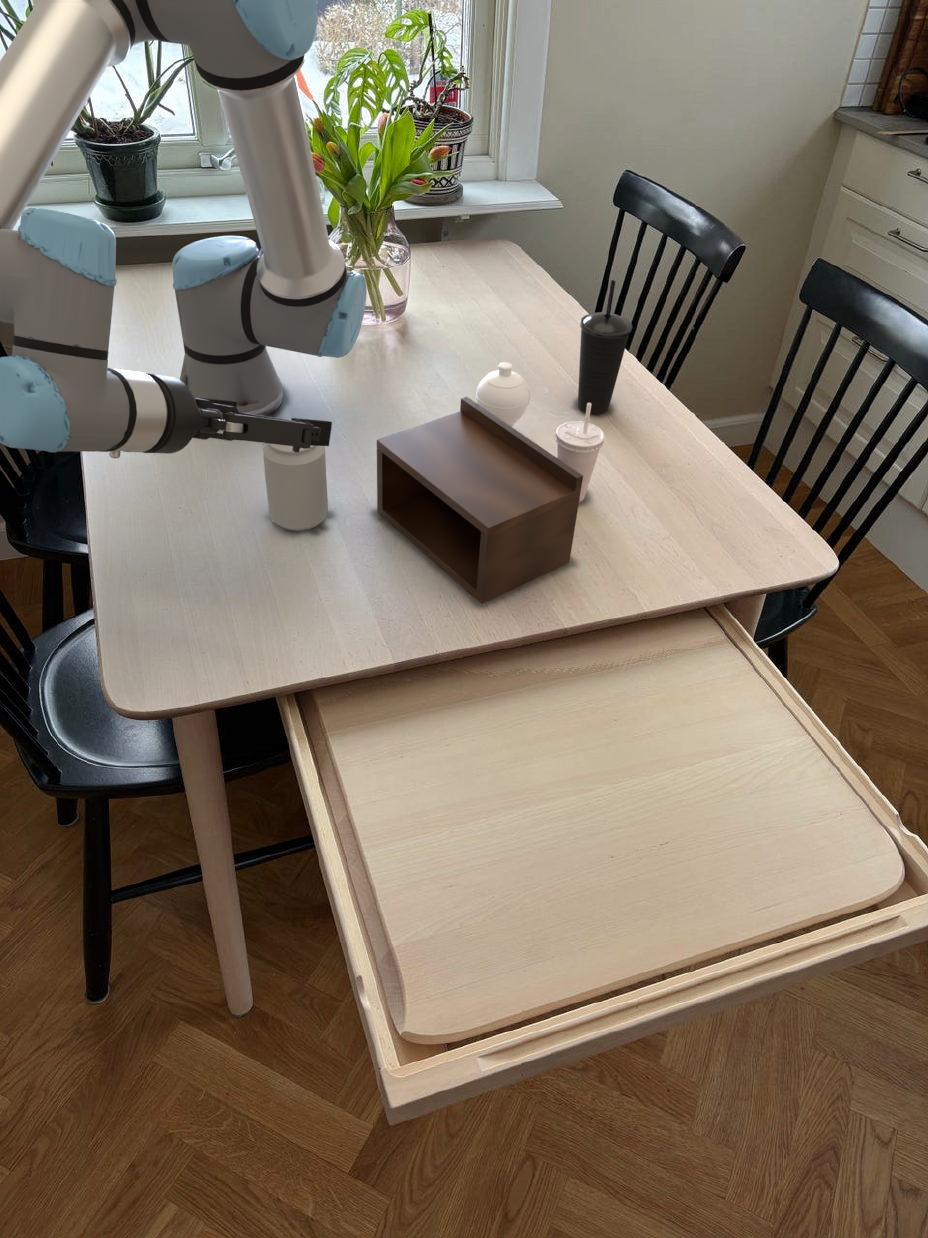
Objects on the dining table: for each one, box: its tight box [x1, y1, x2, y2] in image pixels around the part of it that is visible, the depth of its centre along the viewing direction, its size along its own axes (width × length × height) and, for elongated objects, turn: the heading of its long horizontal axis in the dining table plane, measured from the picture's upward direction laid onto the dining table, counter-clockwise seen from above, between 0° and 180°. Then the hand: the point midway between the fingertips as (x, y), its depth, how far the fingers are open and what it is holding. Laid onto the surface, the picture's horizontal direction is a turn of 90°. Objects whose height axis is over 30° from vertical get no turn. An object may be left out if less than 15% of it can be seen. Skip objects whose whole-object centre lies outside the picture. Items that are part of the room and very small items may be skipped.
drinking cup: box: [577, 279, 633, 416], centre depth 143 cm, size 8×8×20 cm
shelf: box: [376, 396, 583, 604], centre depth 118 cm, size 14×22×13 cm, turn 38°
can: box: [262, 443, 329, 532], centre depth 120 cm, size 8×8×12 cm
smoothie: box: [554, 403, 605, 503], centre depth 126 cm, size 6×6×14 cm
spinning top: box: [475, 361, 531, 428], centre depth 137 cm, size 8×8×12 cm
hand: (279, 422), depth 110 cm, fingers open, 13 cm apart
